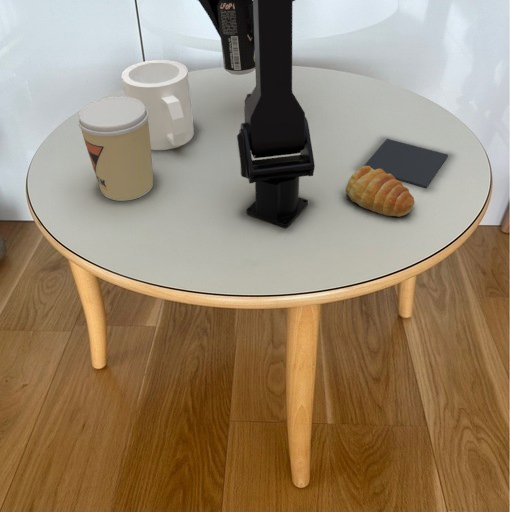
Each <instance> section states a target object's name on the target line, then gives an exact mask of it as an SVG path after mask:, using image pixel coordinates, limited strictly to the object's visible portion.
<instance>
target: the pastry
mask: <svg viewBox="0 0 510 512" xmlns="http://www.w3.org/2000/svg"><path fill="white" fill-rule="evenodd" d="M348 179H349V180H348V181H347V184H346V186H345V188H344V189H345V193H346V194H347V196H348V197H349V198H350V200H351V202H353V203H356V204H357V205H359V207H361V208H364V209H366V210H370V211H372V212H373V213H378V214H379V215H383V216H388V217H392V216H393V217H403V216H405V215H407V214H408V213H410V212H411V211H412V210H413V209H412V208H413V207H414V205H415V204H416V203H415V202H416V201H415V198H414V196H413V195H412V194H411V192H410V189H409V188H408V187H405V186H404V185H403V183H402V182H403V181H400V180H397V179H396V178H395V177H394V176H393V175H392V174H386V172H385V171H384V170H383V169H376V170H374V169H372V168H371V167H370V166H364V165H362V166H361V167H359V168H356V171H355V172H354V173H353V174H352V175H351V176H350V178H348Z"/></svg>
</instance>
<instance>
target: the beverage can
mask: <svg viewBox="0 0 510 512" xmlns="http://www.w3.org/2000/svg"><path fill="white" fill-rule="evenodd" d="M252 3H253V0H219V3H218V5H217V10H218V19H219V28H220V36H221V38H220V44H221V45H220V46H221V54H222V62H223V69H224V70H225V71H226V72H228V73H229V74H232V75H235V76H243V75H248V74H251V73H253V72H255V46H254V43H253V39H252V32H251V24H250V15H249V5H250V4H252ZM220 36H219V37H220Z"/></svg>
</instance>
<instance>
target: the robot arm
mask: <svg viewBox="0 0 510 512" xmlns="http://www.w3.org/2000/svg"><path fill="white" fill-rule="evenodd" d="M197 1H198V2H199V4H200V5H201V7H202V9H203V10H204V11H205V13H206V14H207V16H208V18H209V19H210V21H211V23H212V25H213V27H214V29H215V30H216V32H217V34H218V36H219V38H220V39H221V36H220V28H219V19H218V10H217V5H218V3H219V0H197ZM295 1H296V0H253V3H252V4H250V5H249V15H250V24H251V32H252V39H253V43H254V46H255V69H254V72H255V87H254V88H253V90H252V92H251V93H247V94H246V96H245V99H244V109H243V110H244V122H243V123H240V129H239V131H238V134H237V135H236V141H237V148H238V155H239V164H240V176H241V177H242V178H245V179H246V180H247V181H248V184H254V190H255V191H254V194H255V197H254V198H255V200H254V201H253V202H252V203H251V204H250V205H249V206H248V207H247V208H246V209H245V210H246V211H245V212H246V215H249V216H252V217H255V218H257V219H260V220H262V221H266V222H268V223H271V224H274V225H277V226H280V227H283V228H287V227H289V226H290V225H291V224H292V223H293V222H294V221H295V219H297V217H298V216H299V215H300V214H301V213H302V212H303V211H304V209H306V208H307V206H308V205H309V200H308V199H306V198H303V197H300V178H301V177H314V172H315V167H316V166H315V165H316V164H315V158H314V151H313V146H312V141H311V133H310V127H309V122H308V119H307V117H306V112H305V110H304V109H303V108H302V105H301V104H300V102H299V101H298V100H297V98H296V96H295V94H294V92H293V3H294V2H295Z"/></svg>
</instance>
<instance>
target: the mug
mask: <svg viewBox="0 0 510 512" xmlns="http://www.w3.org/2000/svg"><path fill="white" fill-rule="evenodd" d="M189 80H190V79H189V71H188V68H187V67H186V65H185V64H183V63H180V62H179V61H176V60H171V59H170V60H169V59H152V60H151V59H150V60H145V61H140V62H137V63H134V64H132V65H129V66H128V67H126V68H125V69H124V71H122V73H121V82H122V87H123V93H124V97H131V98H135V99H137V100H139V101H141V102H142V103H143V104H144V105H145V107H146V108H147V110H148V113H149V118H148V123H149V133H150V145H151V151H167V150H168V151H169V150H171V149H172V150H173V149H176V148H180V147H182V146H184V145H186V144H187V143H189V142H190V141H192V138H193V137H194V135H195V129H194V128H195V127H194V119H193V108H192V98H191V90H190V88H191V87H190V81H189Z"/></svg>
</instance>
